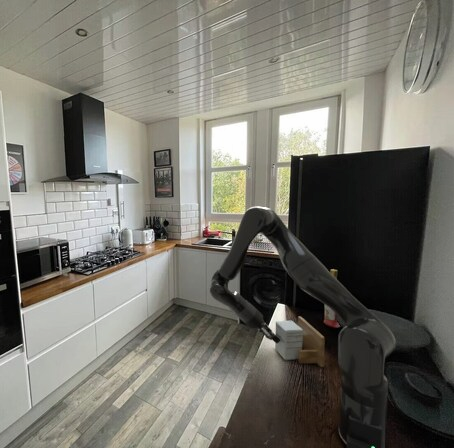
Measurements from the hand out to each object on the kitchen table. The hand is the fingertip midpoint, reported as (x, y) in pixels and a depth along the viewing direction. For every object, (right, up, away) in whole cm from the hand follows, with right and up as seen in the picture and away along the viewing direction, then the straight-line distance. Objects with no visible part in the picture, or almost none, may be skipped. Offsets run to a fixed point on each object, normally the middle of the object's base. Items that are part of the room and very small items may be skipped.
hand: (277, 341), depth 101 cm
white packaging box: (+4, -6, 0) cm, 7 cm away
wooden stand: (+10, -5, 0) cm, 11 cm away
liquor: (+36, -2, +19) cm, 41 cm away
